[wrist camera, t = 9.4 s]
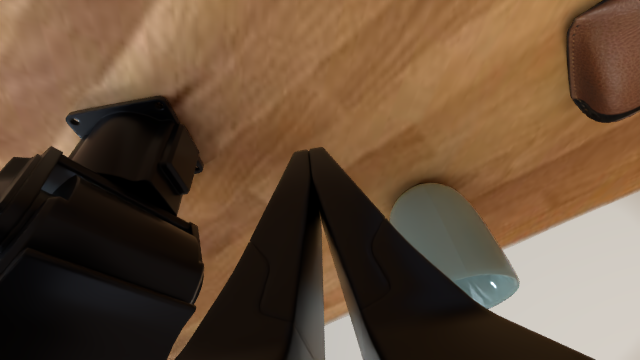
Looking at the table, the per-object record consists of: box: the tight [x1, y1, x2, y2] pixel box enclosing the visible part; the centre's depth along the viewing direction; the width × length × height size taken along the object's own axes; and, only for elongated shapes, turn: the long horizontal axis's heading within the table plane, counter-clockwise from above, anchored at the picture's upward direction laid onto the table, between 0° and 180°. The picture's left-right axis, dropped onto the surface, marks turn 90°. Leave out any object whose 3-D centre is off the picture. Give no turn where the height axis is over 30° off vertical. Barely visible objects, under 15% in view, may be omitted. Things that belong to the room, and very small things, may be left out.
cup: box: [389, 183, 519, 309], centre depth 27 cm, size 8×8×10 cm
